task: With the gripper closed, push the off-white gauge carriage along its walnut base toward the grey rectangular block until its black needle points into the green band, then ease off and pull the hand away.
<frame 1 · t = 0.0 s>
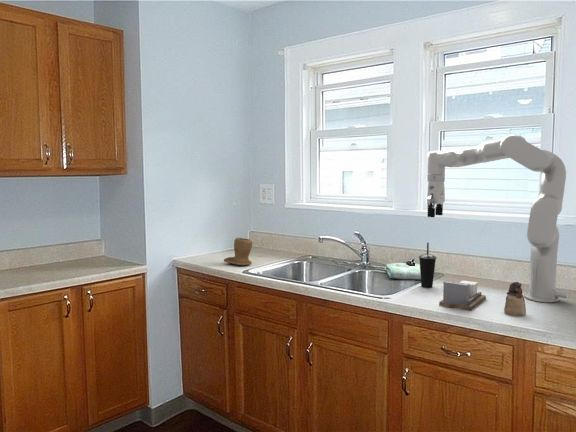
hand: (435, 216, 221), 31 cm above the worktop, tool pointing down, fingers open, 9 cm apart
gauge carriage: (462, 289, 195), point 4 cm above the worktop, slide at 0.0 cm
towel: (405, 276, 241), on the worktop
grey rectangular block: (456, 293, 185), point 6 cm above the worktop
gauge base: (462, 302, 192), on the worktop
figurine: (514, 314, 177), on the worktop
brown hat: (240, 264, 270), on the worktop
drinking cup: (426, 287, 218), on the worktop
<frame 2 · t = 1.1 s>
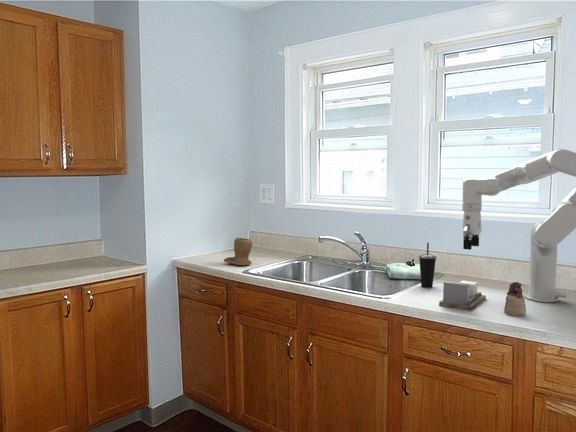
hand: (471, 247, 205), 19 cm above the worktop, tool pointing down, fingers open, 9 cm apart
nothing on the worktop moved.
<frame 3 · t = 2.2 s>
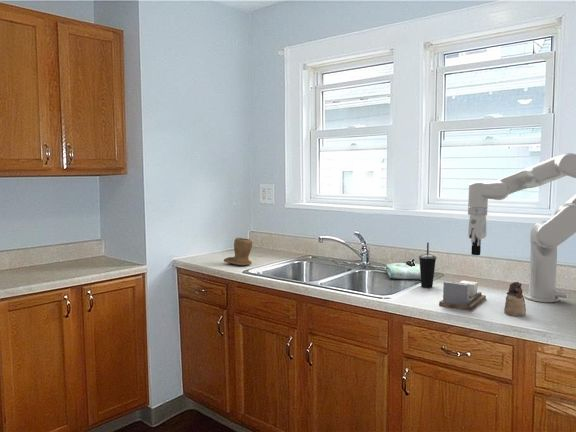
hand: (475, 254, 203), 17 cm above the worktop, tool pointing down, fingers closed
nothing on the worktop moved.
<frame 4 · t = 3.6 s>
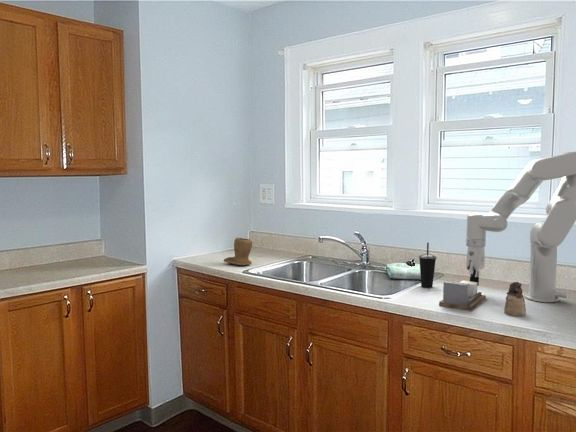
hand: (474, 285, 204), 4 cm above the worktop, tool pointing down, fingers closed
nothing on the worktop moved.
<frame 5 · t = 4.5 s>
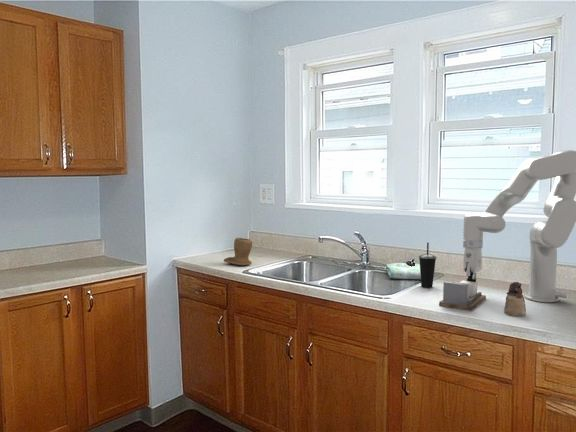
hand: (471, 287, 200), 4 cm above the worktop, tool pointing down, fingers closed
gauge carriage: (462, 289, 195), point 4 cm above the worktop, slide at 0.1 cm, touching gripper
everything else where it was.
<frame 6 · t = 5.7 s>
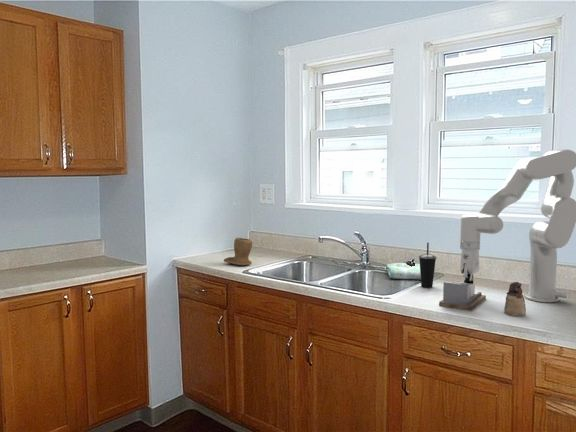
hand: (468, 289, 197), 4 cm above the worktop, tool pointing down, fingers closed
gauge carriage: (459, 291, 192), point 4 cm above the worktop, slide at 3.8 cm, touching gripper
everything else where it was.
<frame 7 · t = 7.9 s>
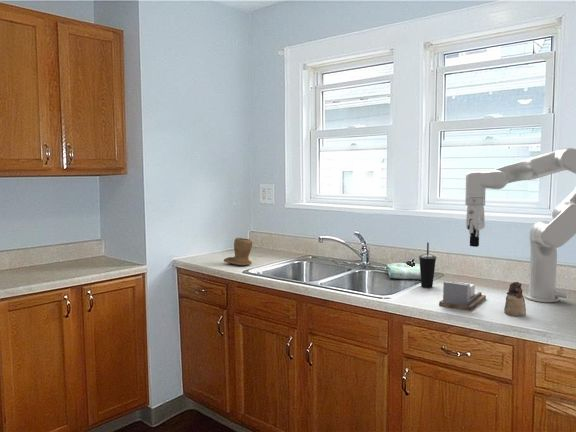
hand: (474, 246, 199), 21 cm above the worktop, tool pointing down, fingers closed
gauge carriage: (459, 291, 192), point 4 cm above the worktop, slide at 3.8 cm
everything else where it was.
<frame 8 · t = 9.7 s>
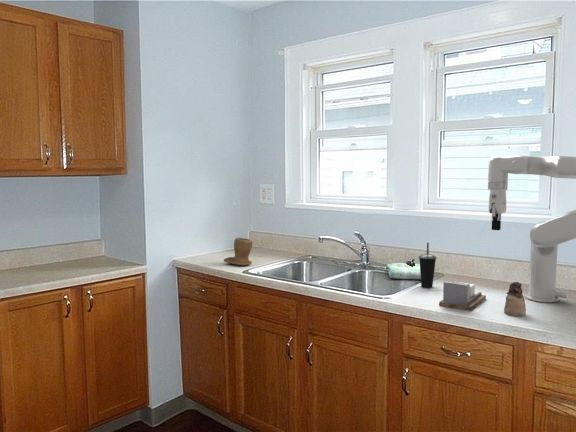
hand: (496, 229, 203), 27 cm above the worktop, tool pointing down, fingers closed
nothing on the worktop moved.
at the end: gauge carriage slide at 3.8 cm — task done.
